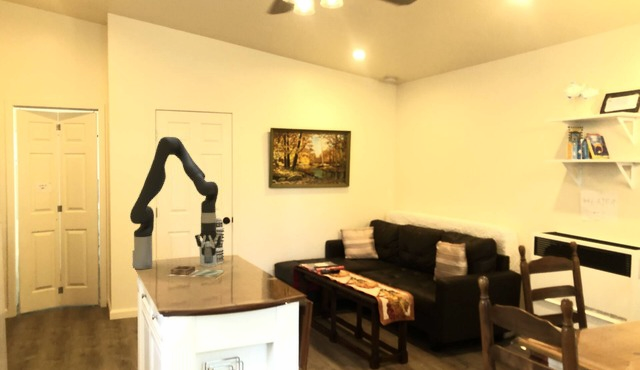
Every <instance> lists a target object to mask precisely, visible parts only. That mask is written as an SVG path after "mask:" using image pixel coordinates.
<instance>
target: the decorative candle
mask: <svg viewBox="0 0 640 370" xmlns="http://www.w3.org/2000/svg"><path fill="white" fill-rule="evenodd" d="M223 223H224V222H223V220H222V219H221V218H217V217H216V233H217V234H218V235H222V239H221V243H220V246H219V247H216V264H217V265H219V264H223V263H224V254H225V253H224V251H225V250H224V247H223V244H224V241H225V240H224V239H225V237H224V232H225V230H224V229H225V228H224V226H223ZM217 240H218V239H217V237H216V238H215V242H216V244H217Z"/></svg>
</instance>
